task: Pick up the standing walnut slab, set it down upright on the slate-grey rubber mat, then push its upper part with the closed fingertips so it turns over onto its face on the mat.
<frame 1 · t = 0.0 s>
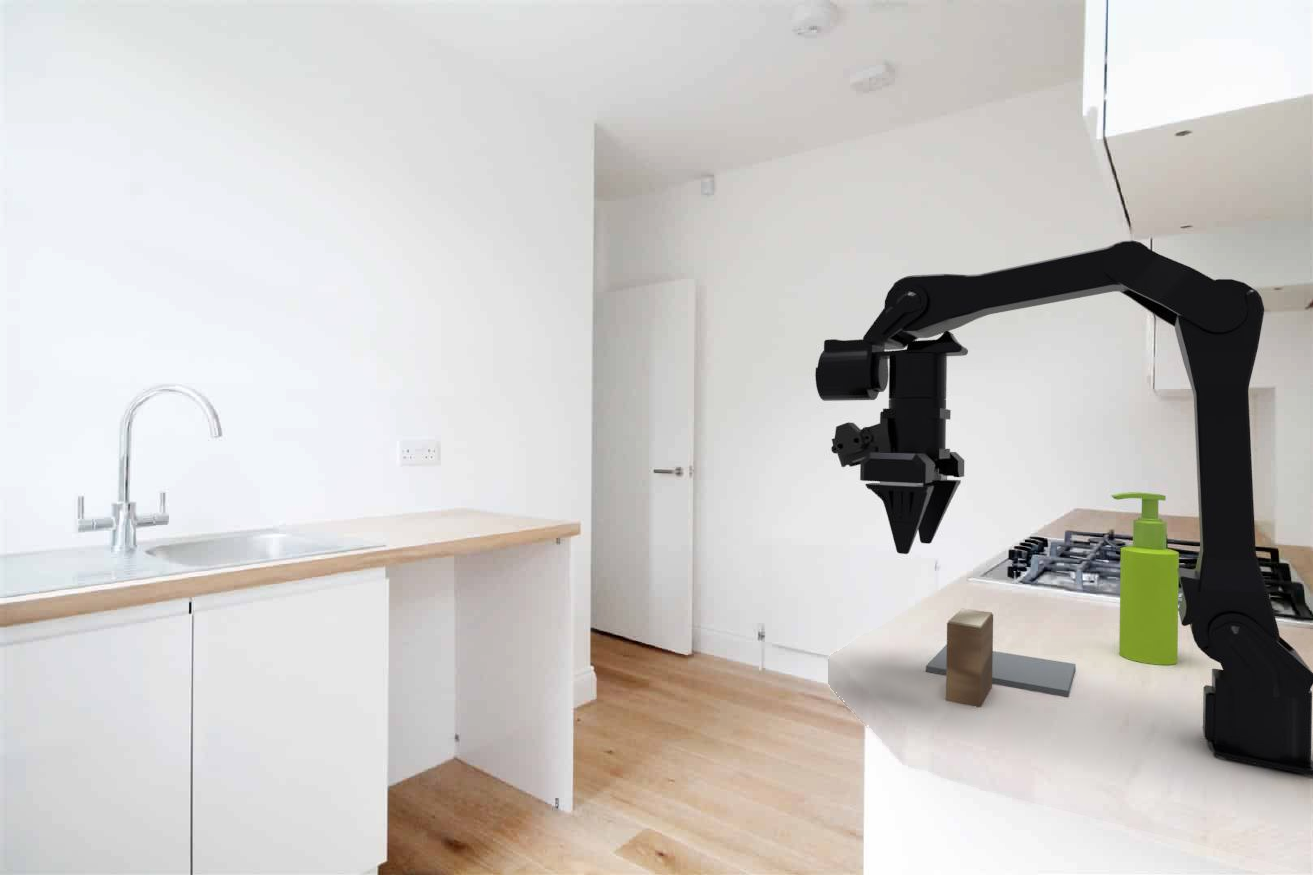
hand: (914, 548, 77), 15 cm above the table, fingers open, 9 cm apart
soap dispenser: (1142, 658, 90), on the table
walnut slab: (969, 694, 76), on the table
mat: (1001, 670, 84), on the table
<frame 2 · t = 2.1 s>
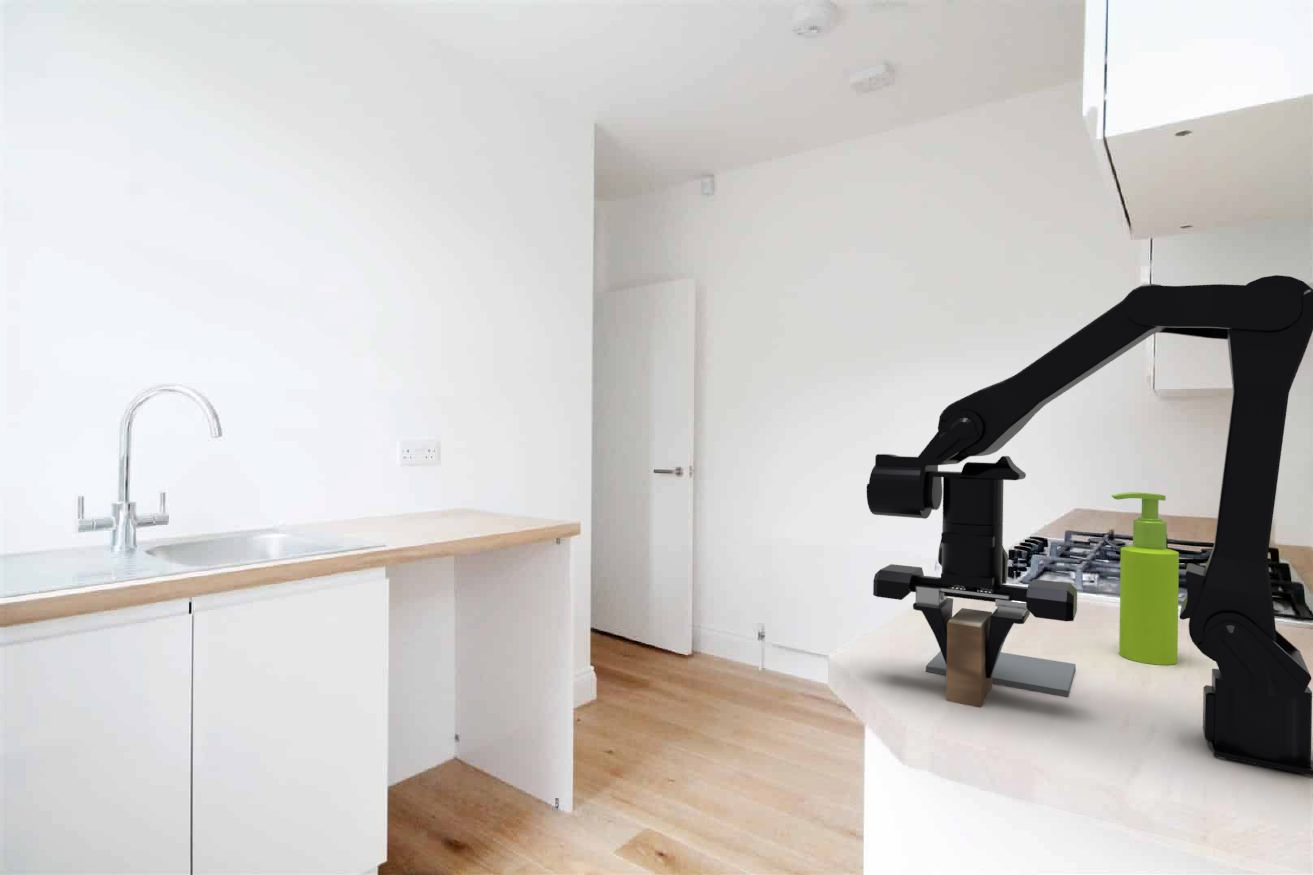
hand: (970, 674, 76), 2 cm above the table, fingers closed on walnut slab, 3 cm apart
walnut slab: (969, 693, 76), on the table, touching gripper
everything else where it was.
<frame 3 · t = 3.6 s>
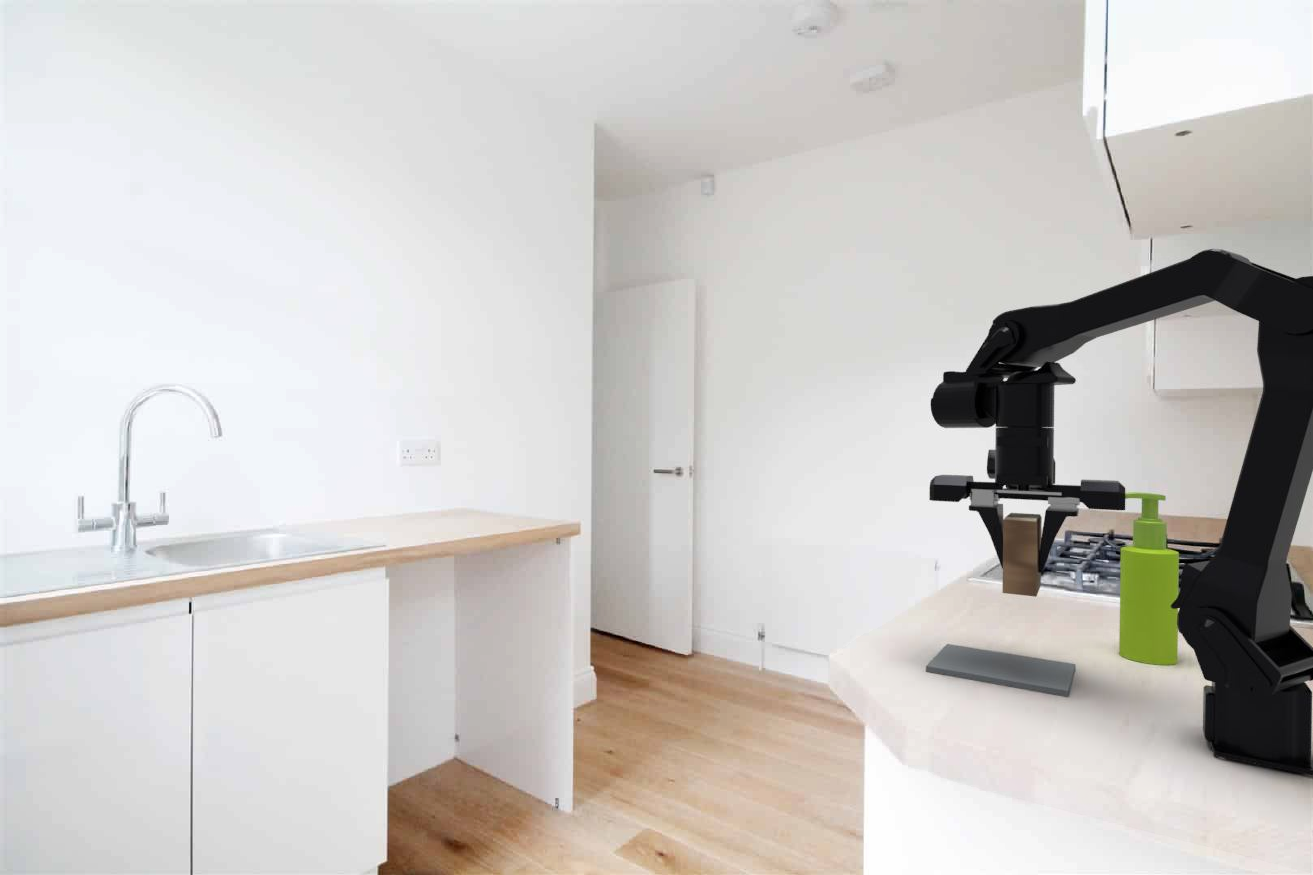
hand: (1022, 570, 81), 12 cm above the table, fingers closed on walnut slab, 3 cm apart
walnut slab: (1022, 589, 81), point 10 cm above the table, touching gripper
everything else where it was.
when the fingers open (4 cm above the table, at t = 5.3 s): walnut slab stays where it is, resting on mat.
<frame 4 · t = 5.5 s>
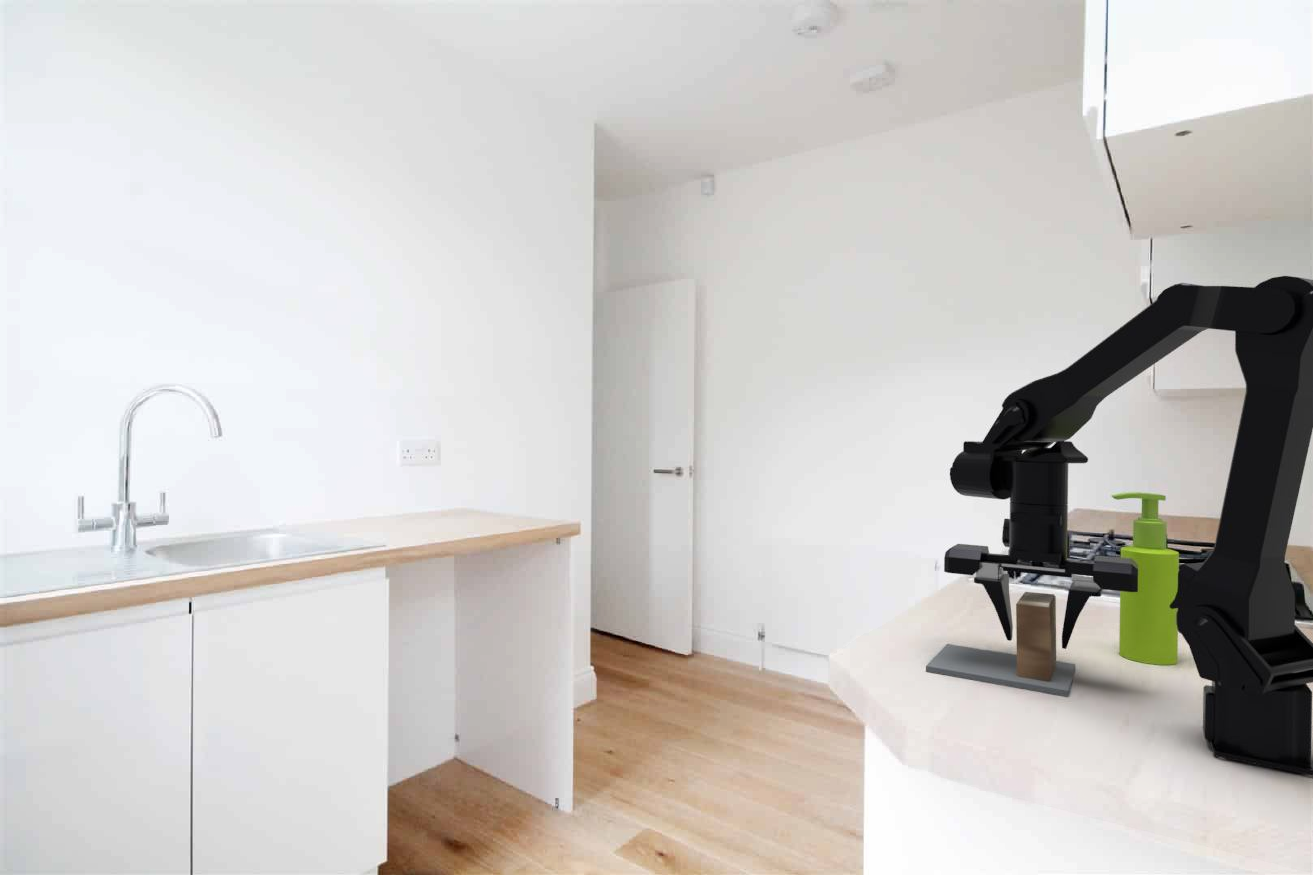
hand: (1036, 643, 82), 4 cm above the table, fingers open, 5 cm apart
walnut slab: (1037, 670, 82), point 1 cm above the table, touching mat
everything else where it was.
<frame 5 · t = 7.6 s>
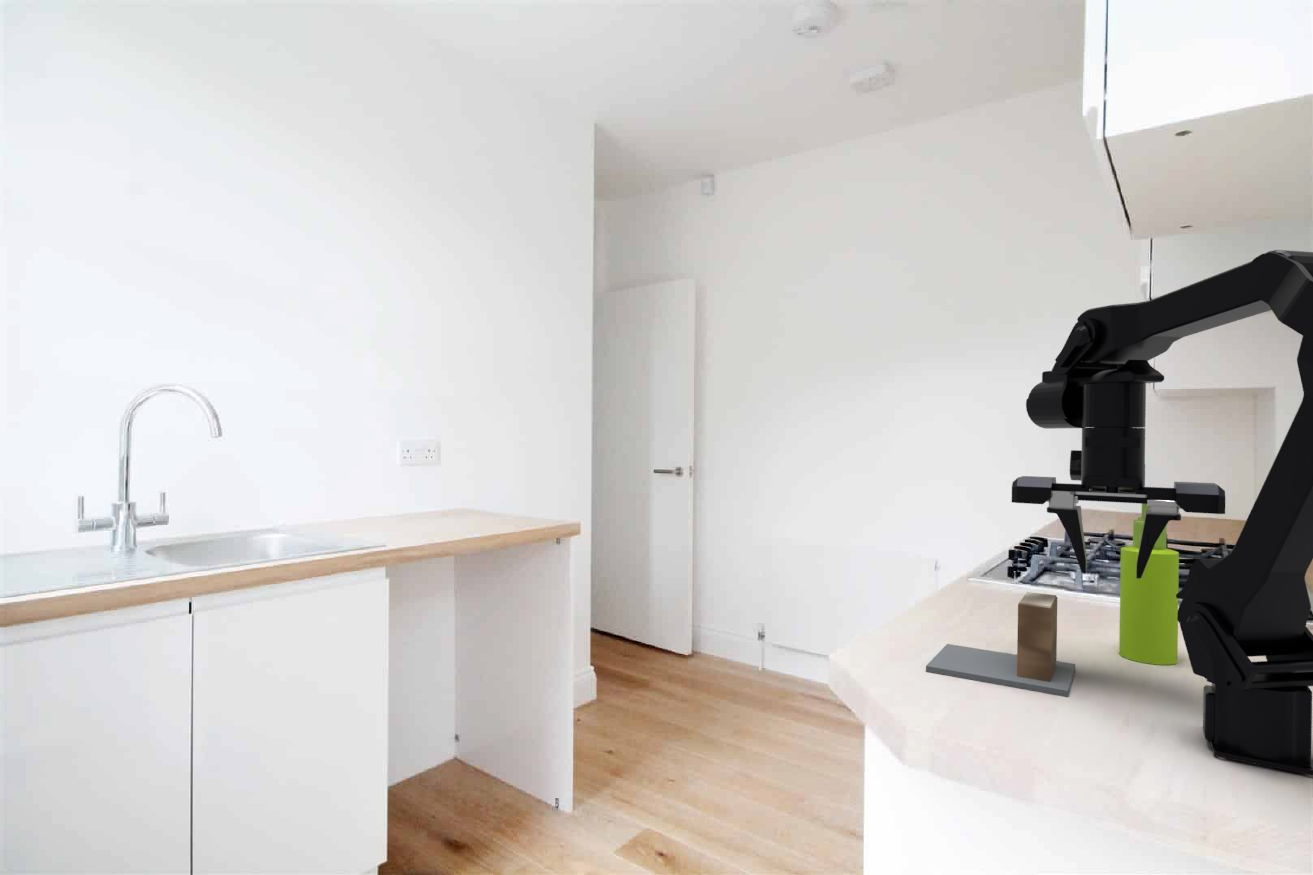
hand: (1110, 575, 78), 12 cm above the table, fingers open, 5 cm apart
nothing on the table moved.
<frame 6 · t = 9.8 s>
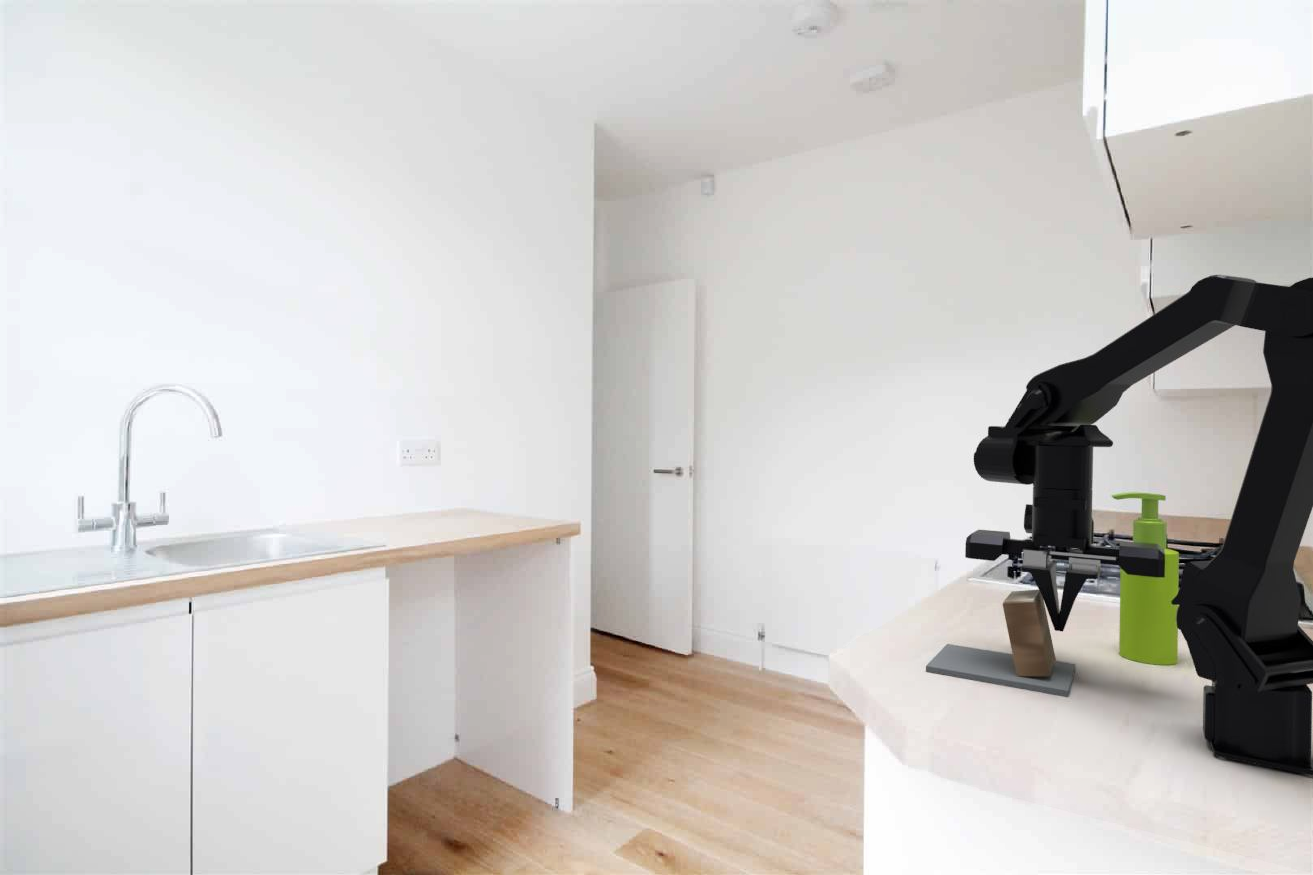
hand: (1059, 630, 81), 5 cm above the table, fingers closed
walnut slab: (1036, 667, 82), point 1 cm above the table, tilted 11°, touching mat
everything else where it was.
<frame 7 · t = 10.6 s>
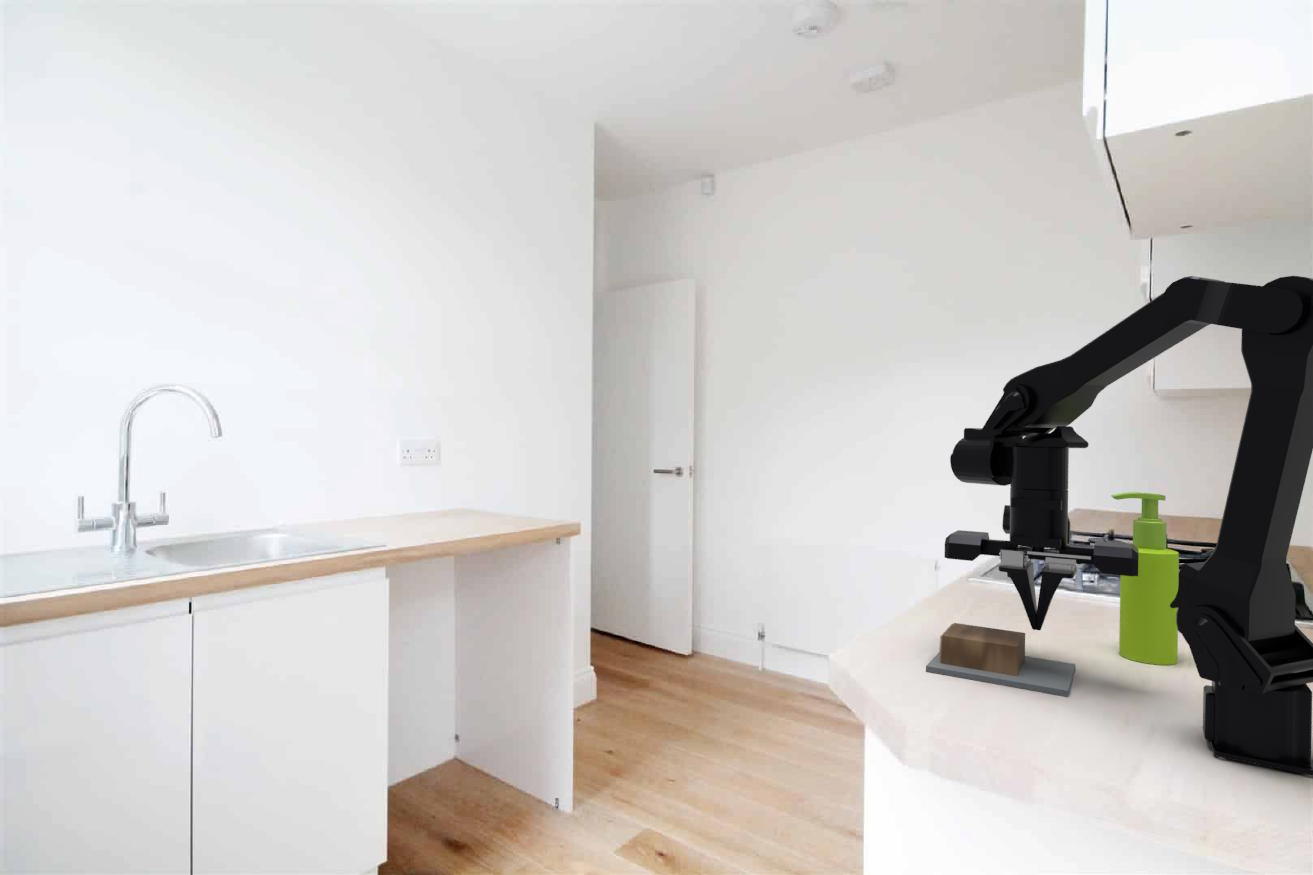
hand: (1036, 629, 82), 5 cm above the table, fingers closed
walnut slab: (1021, 653, 83), point 2 cm above the table, tilted 90°, touching mat
everything else where it was.
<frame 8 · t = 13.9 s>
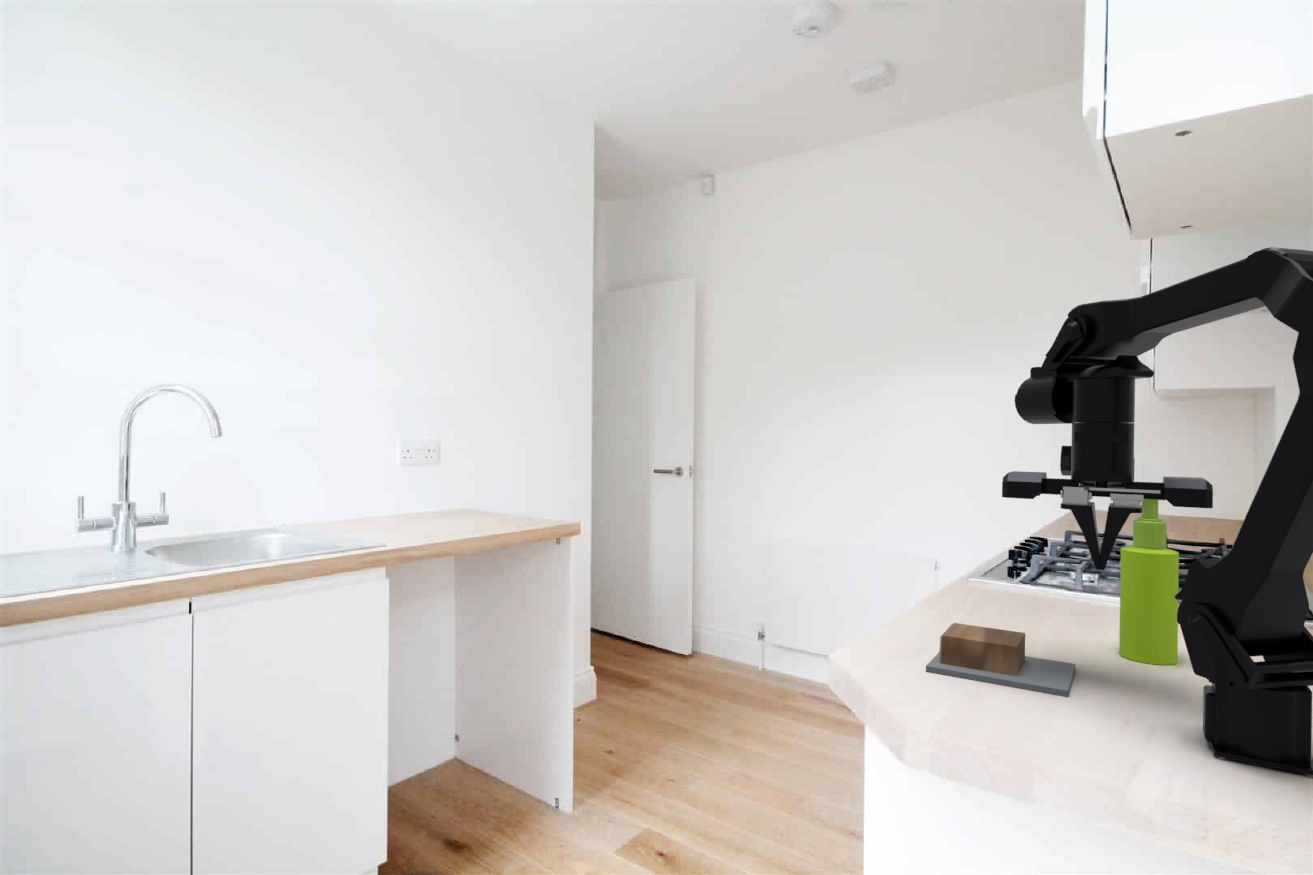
hand: (1100, 569, 79), 12 cm above the table, fingers closed
nothing on the table moved.
at the end: walnut slab tilted 90°; walnut slab inside the target area on the mat (3.2 cm from its centre), point 2.2 cm above the mat's base; the gripper is holding nothing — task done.
